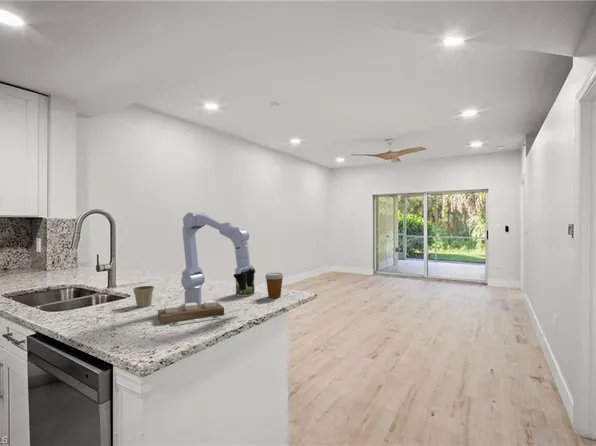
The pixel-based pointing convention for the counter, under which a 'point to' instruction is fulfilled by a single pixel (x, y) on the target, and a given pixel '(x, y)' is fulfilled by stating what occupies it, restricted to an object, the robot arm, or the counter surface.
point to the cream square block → (171, 309)
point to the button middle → (191, 306)
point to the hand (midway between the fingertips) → (246, 288)
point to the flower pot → (143, 295)
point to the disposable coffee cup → (274, 284)
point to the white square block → (210, 304)
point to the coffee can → (247, 292)
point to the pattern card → (194, 320)
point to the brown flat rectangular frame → (190, 314)
